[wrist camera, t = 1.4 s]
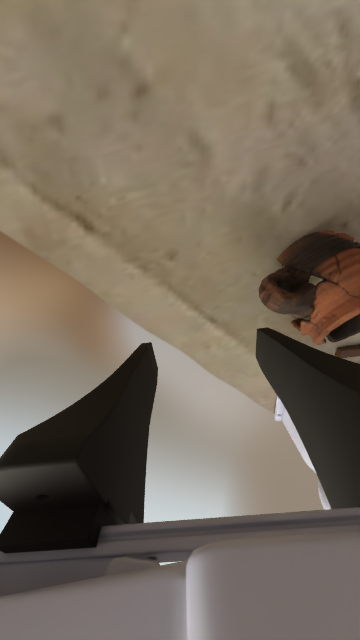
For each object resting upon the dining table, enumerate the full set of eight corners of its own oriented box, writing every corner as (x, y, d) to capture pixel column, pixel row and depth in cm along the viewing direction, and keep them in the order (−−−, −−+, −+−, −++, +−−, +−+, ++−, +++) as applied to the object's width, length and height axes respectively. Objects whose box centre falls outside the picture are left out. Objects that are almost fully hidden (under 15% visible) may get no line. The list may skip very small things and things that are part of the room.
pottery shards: (363, 217, 17) (466, 270, 12) (304, 291, 25) (355, 342, 20) (252, 227, 15) (328, 298, 10) (224, 306, 22) (260, 368, 17)
